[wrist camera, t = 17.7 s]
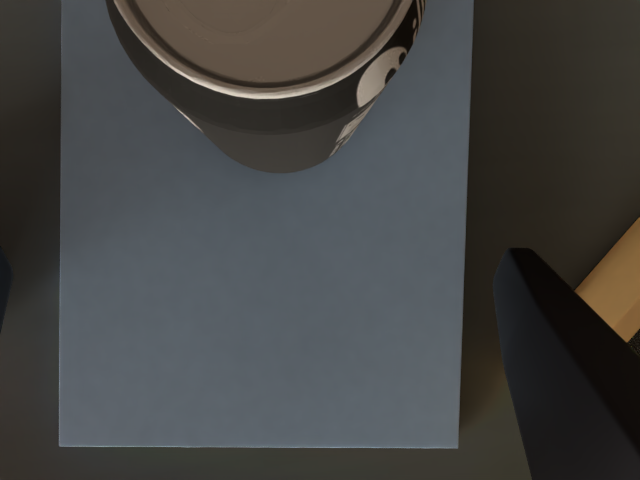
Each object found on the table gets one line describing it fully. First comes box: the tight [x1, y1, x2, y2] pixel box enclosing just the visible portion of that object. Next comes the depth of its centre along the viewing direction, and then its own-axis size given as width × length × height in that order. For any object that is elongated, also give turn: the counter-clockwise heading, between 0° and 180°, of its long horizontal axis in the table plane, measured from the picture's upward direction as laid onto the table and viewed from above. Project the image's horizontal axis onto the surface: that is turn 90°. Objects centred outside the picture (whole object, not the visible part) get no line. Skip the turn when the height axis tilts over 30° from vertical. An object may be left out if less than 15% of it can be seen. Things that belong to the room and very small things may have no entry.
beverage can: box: [105, 0, 427, 173], centre depth 15 cm, size 7×7×12 cm
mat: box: [59, 0, 474, 448], centre depth 22 cm, size 20×16×1 cm
